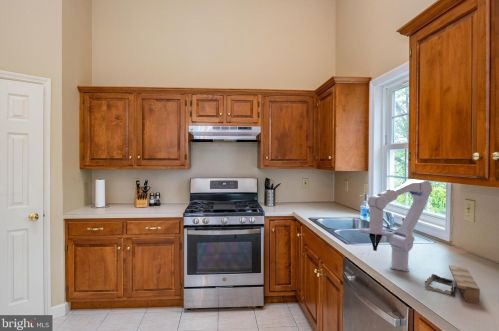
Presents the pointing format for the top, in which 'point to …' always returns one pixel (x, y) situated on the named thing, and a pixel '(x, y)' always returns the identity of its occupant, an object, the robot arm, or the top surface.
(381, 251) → the top surface
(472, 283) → the brown ridged block
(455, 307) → the top surface
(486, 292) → the top surface
